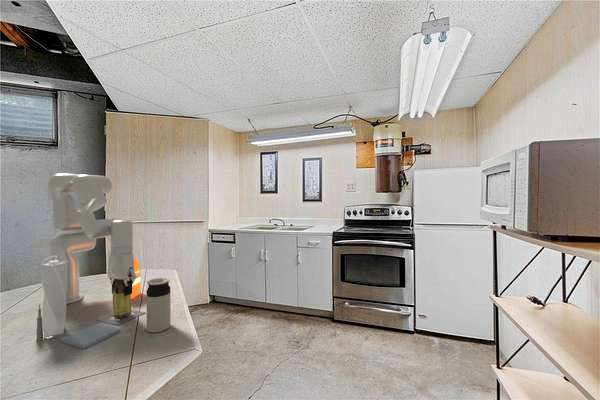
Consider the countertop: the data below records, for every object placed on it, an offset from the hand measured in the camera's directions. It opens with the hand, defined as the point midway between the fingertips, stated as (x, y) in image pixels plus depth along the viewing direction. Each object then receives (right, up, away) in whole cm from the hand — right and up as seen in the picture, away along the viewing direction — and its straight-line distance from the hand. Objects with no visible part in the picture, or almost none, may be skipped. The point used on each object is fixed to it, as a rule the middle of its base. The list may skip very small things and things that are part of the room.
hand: (122, 293), depth 111 cm
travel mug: (+20, -10, -9) cm, 24 cm away
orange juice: (-12, -10, +23) cm, 27 cm away
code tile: (0, -10, 0) cm, 10 cm away
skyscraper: (-16, -10, -13) cm, 23 cm away
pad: (0, -10, -16) cm, 19 cm away
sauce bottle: (0, -10, 0) cm, 10 cm away
